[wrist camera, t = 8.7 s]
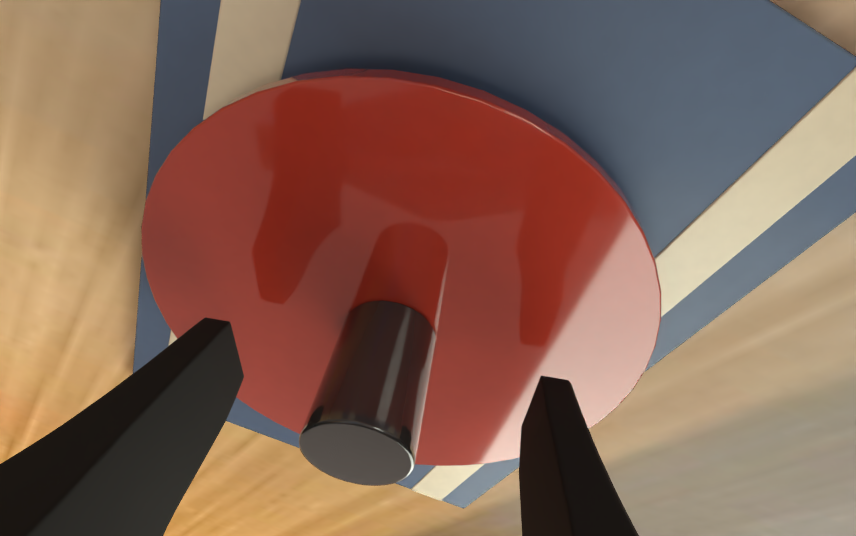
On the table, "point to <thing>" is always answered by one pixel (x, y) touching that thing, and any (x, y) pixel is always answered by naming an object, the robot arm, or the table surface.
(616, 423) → the table surface
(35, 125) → the table surface
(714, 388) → the table surface
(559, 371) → the lid
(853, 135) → the towel
